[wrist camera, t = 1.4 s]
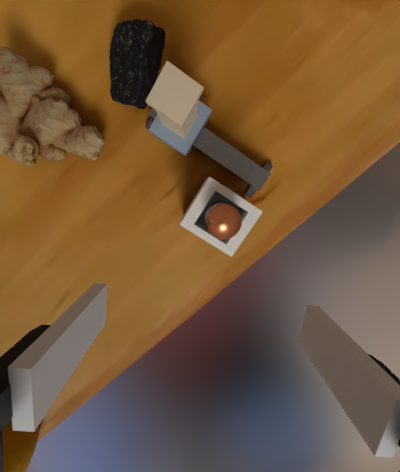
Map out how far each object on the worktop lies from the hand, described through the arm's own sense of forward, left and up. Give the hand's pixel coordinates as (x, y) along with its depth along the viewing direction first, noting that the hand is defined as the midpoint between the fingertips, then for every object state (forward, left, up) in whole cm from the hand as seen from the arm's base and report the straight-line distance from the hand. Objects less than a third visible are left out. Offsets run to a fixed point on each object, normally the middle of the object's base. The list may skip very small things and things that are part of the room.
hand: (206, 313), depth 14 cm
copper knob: (0, +5, -18) cm, 18 cm away
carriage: (-11, +13, -25) cm, 30 cm away
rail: (-6, +13, -25) cm, 28 cm away
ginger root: (-29, +1, -25) cm, 38 cm away
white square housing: (0, +5, -25) cm, 25 cm away
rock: (-21, +16, -25) cm, 36 cm away
